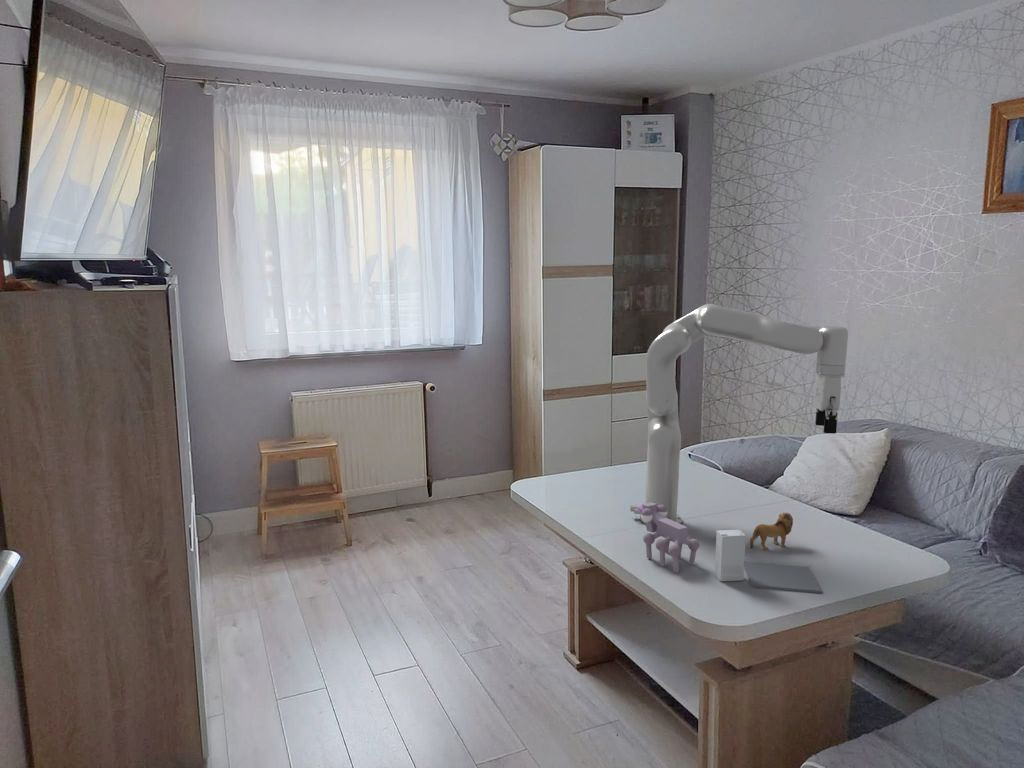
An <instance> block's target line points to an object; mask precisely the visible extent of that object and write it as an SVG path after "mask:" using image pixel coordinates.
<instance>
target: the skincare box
mask: <svg viewBox="0 0 1024 768" xmlns="http://www.w3.org/2000/svg"><path fill="white" fill-rule="evenodd" d="M746 537H747V536H746V535H745V534H744V533H743V532H742V531H741V530H740V529H727V530H726V529H725V530H723V529H722V530H716V538H715V539H716V540H715V558H714V559H715V560H714V575H715V577H716V578H717V579H718V580H719V581H720V582H735V581H736V582H737V581H739V582H740V581H744V571H745V565H744V561H745V557H746V556H745V553H746V552H745V551H746Z"/></svg>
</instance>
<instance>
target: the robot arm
mask: <svg viewBox="0 0 1024 768" xmlns="http://www.w3.org/2000/svg"><path fill="white" fill-rule="evenodd" d="M707 335H711V336H714V337H715V336H716V337H721V338H726V339H731V340H736V341H739V342H740V341H741V342H745V343H749V344H754V345H758V346H766V347H769V348H774V349H778V350H782V351H783V350H784V351H787V352H793V353H798V354H803V355H812V354H815V353H816V363H815V364H816V365H815V375H816V380H815V381H816V382H815V388H814V395H813V406H814V407H815V408H816V413H815V424H814V425H815V426H822V427H823V433H824V434H830V435H831V434H833V435H834V434H836V433H837V427H838V426H837V425H838V416H839V413H838V411H839V410H840V405H841V396H842V395H841V392H842V391H841V389H842V378H843V377H845V374H846V364H847V363H846V361H847V353H848V352H847V351H848V343H849V342H848V339H849V331H848V328H847V327H843V326H837V325H836V326H835V325H834V326H833V325H829V326H828V325H826V326H815V325H808V324H796V323H790V322H786V321H781V320H778V319H774V318H771V317H769V316H766V315H763V314H760V313H756V312H751V311H747V310H741V309H736V308H732V307H731V308H730V307H726V306H720V305H717V304H714V303H705V304H703V305H701V306H700V307H698V308H696V309H695V310H692V311H691V312H689V313H688V314H686V315H684V316H682V317H680V318H678V319H677V320H675V321H673V322H672V323H669V324H668V325H667V326H666V327H664V329H663V331H662V333H660V334H658V336H657V337H656V338H654V340H652V342H651V344H650V345H649V347H648V349H647V351H646V352H647V353H646V355H645V382H646V386H645V387H646V391H645V402H646V414H647V416H646V417H647V425H648V426H647V427H648V428H647V429H648V430H647V456H646V457H647V458H646V459H647V460H646V483H645V484H646V485H645V486H646V488H645V502H644V503H643V504H646V503H650V502H652V503H655V504H657V506H658V505H664V506H666V508H667V515H666V516H665V517H664V518H668V519H670V520H672V521H675V522H677V523H679V524H682V522H683V519H682V518H683V517H682V516H680V515H679V514H678V498H679V496H678V495H679V482H680V481H679V478H680V477H679V476H680V459H681V458H680V456H681V447H682V446H681V445H682V433H681V428H680V420H679V404H678V402H679V395H678V392H677V386H676V383H677V382H676V362H677V359H678V358H679V356H680V355H682V354H684V353H685V352H687V351H688V350H689V349H690V347H691V345H692V344H693V343H696V342H697V341H699V340H701V339H702V338H704V337H706V336H707ZM637 506H638V505H633V504H630V509H629V510H630V511H629V512H633V514H635V515H639V520H640V522H642V523H643V524H644V523H645V522H644V521H643V520H642V518H641V515H642V514H641V512H640V510H639V509H638V508H637ZM644 525H646V523H645V524H644Z"/></svg>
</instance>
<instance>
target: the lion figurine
mask: <svg viewBox="0 0 1024 768" xmlns="http://www.w3.org/2000/svg"><path fill="white" fill-rule="evenodd" d="M793 524H794V519H793V516H792V515H791V514H790V512H782V513H779V514H778V518H777V520H776V522H775V523H773V524H763V523H761V524H758V525H756V527H755V529H754V530H753V533H752V536H751V538H750V539H749V549H750V550H751V549H753V548H754V547H755V544H754V541H755V540H756V539H758V538H760V540H761V541H760V546H761V547H762V549H763V550H765V551H769V549H770V548H769V547H768V546H766V541H767V540H768V539H767V538H773V542H772V543H773V544H774V545H778V544H779V541H778V538H779V537H780V540H781V541H780V546H781V548H786V547H787V546H786V544H785V543H786V540H787V539H786V538H787V536H788V535H789V534H790V533H791V532H792V529H793Z"/></svg>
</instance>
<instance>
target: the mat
mask: <svg viewBox="0 0 1024 768" xmlns="http://www.w3.org/2000/svg"><path fill="white" fill-rule="evenodd" d="M744 569H745V572H746V574H747V577H748V581H749V584H750V586H751V588H755V589H756V588H757V589H759V588H760V589H768V590H769V589H770V590H780V591H781V590H782V591H792V592H803V593H814V594H822V589H821V586H819V583H818V582H817V579H816V578H815V576H814V574H813V572H812V570H811V569H810V566H808V565H794V564H782V563H772V562H771V563H770V562H759V561H758V562H757V561H745V560H744Z"/></svg>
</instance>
